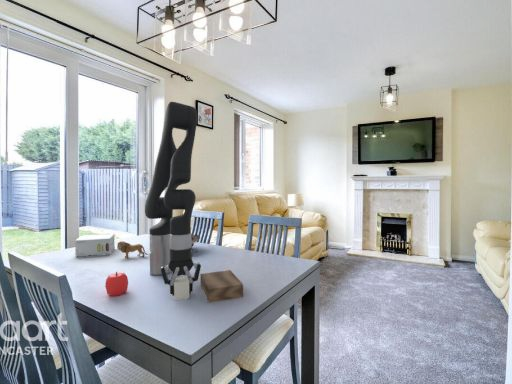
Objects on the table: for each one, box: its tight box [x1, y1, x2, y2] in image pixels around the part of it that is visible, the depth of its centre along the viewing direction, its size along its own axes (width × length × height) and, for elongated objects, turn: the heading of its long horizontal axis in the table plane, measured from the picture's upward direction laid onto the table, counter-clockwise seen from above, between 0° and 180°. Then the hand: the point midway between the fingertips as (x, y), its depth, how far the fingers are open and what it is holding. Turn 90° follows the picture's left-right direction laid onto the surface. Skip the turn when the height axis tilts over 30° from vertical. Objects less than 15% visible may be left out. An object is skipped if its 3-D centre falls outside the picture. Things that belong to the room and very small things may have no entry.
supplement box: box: [74, 233, 116, 257], centre depth 155 cm, size 17×13×9 cm
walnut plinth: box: [199, 269, 244, 304], centre depth 102 cm, size 12×16×5 cm
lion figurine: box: [116, 241, 149, 259], centre depth 146 cm, size 15×5×9 cm, turn 115°
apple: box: [104, 271, 129, 297], centre depth 100 cm, size 8×8×8 cm
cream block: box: [173, 276, 190, 301], centre depth 98 cm, size 5×5×6 cm
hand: (181, 293), depth 98 cm, fingers closed on cream block, 5 cm apart
